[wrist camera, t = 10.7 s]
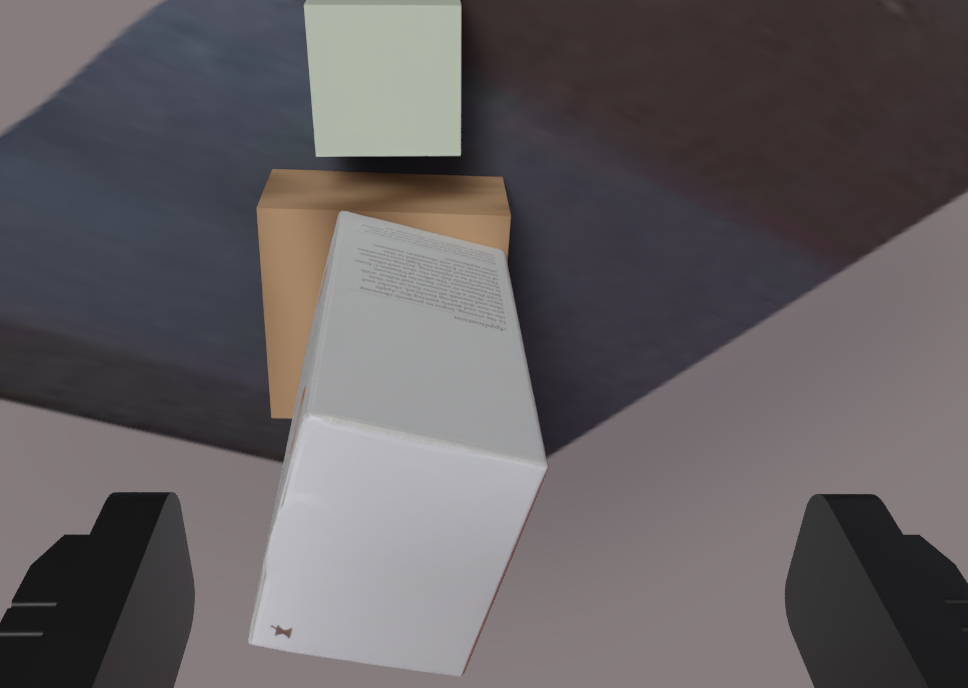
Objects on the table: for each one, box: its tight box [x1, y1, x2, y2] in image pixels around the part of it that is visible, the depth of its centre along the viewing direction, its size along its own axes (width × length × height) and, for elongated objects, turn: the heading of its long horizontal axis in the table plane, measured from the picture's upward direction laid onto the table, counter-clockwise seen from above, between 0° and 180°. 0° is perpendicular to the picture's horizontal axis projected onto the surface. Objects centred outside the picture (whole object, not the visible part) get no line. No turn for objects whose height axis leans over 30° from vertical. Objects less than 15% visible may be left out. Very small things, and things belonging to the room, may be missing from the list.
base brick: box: [257, 169, 511, 418], centre depth 37 cm, size 9×9×4 cm
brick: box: [304, 0, 461, 157], centre depth 32 cm, size 5×5×4 cm
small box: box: [248, 211, 549, 676], centre depth 29 cm, size 8×6×13 cm
